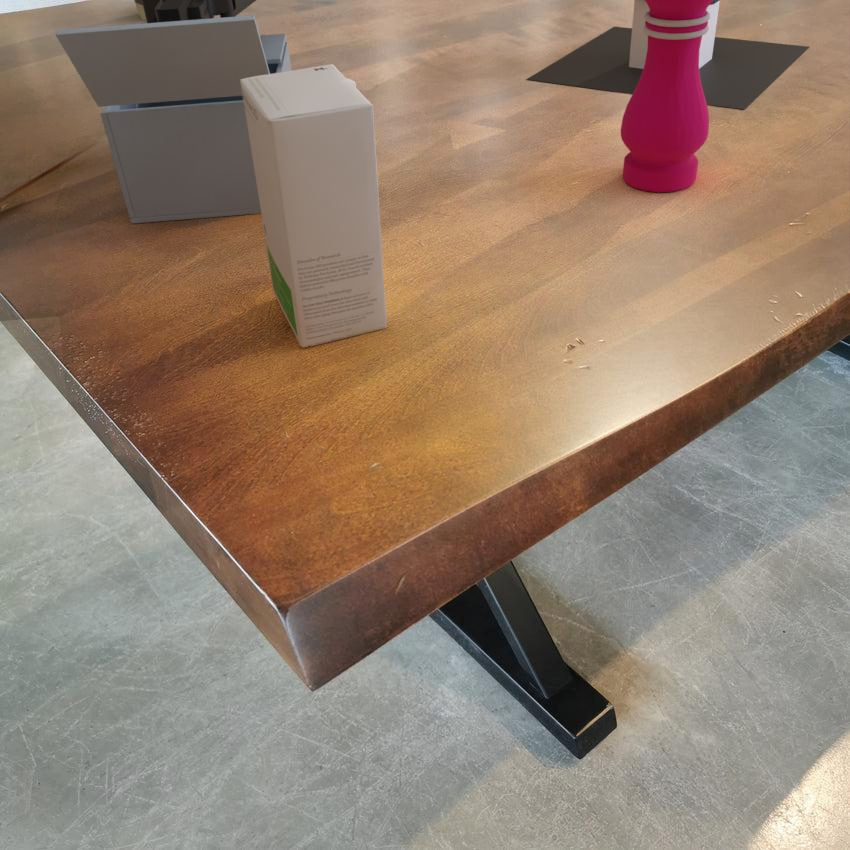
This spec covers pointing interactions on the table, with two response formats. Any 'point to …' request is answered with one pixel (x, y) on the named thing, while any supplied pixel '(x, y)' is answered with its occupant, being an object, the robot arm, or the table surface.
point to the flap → (166, 59)
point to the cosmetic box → (318, 200)
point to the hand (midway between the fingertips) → (172, 28)
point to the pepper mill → (668, 100)
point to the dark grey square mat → (718, 62)
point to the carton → (188, 153)
